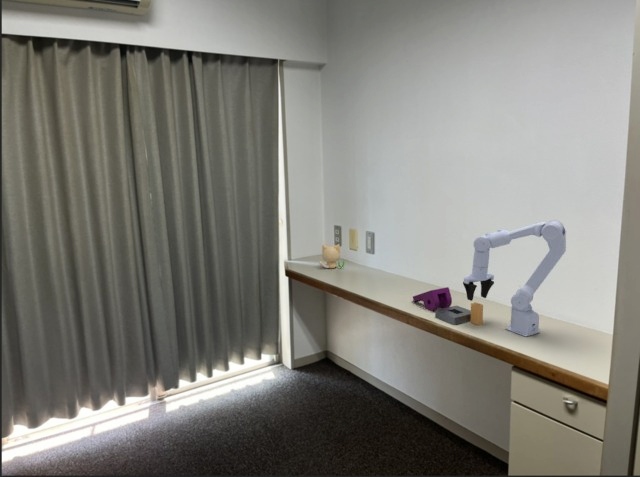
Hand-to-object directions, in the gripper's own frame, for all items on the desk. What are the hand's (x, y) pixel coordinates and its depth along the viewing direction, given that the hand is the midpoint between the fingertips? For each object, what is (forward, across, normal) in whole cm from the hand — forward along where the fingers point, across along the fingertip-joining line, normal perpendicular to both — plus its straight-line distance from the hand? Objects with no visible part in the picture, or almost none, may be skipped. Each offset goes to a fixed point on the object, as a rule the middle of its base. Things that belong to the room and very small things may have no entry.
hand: (476, 298), depth 187 cm
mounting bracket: (+12, 0, -26) cm, 29 cm away
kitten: (+18, +1, -112) cm, 114 cm away
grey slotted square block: (+11, +3, -7) cm, 13 cm away
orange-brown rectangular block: (+10, 0, +1) cm, 10 cm away
